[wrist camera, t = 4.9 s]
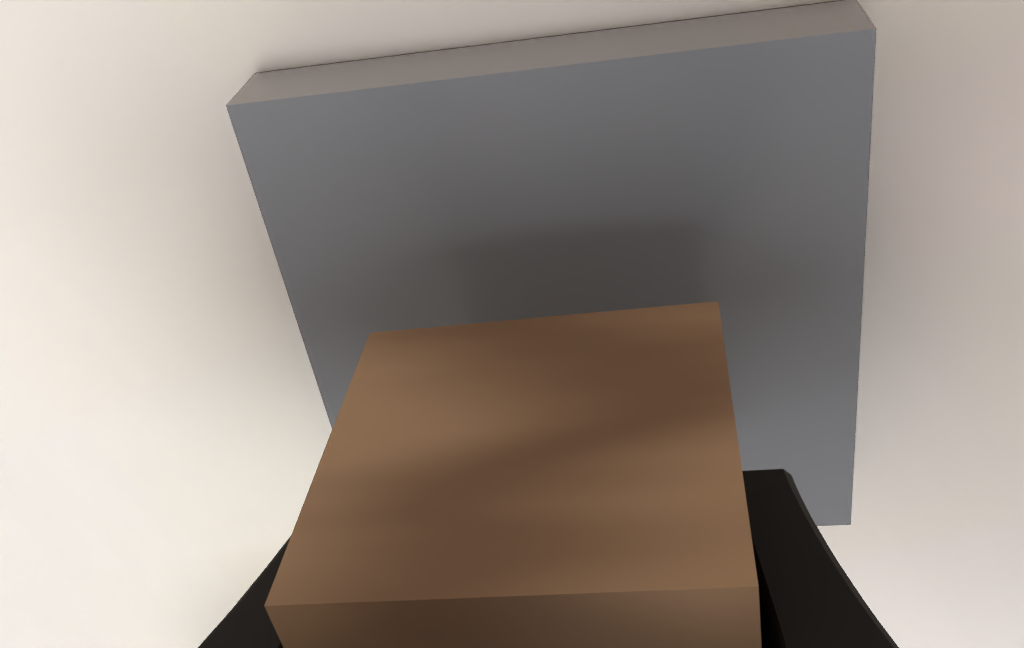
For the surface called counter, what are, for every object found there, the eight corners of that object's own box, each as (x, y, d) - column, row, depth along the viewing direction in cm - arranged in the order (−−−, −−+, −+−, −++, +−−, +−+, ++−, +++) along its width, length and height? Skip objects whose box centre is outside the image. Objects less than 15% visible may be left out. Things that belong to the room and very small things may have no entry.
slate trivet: (855, -2, 15) (876, 28, 14) (836, 473, 21) (850, 524, 19) (254, 73, 17) (225, 105, 16) (384, 494, 22) (369, 543, 21)
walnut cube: (718, 301, 13) (759, 587, 9) (735, 555, 16) (772, 863, 12) (369, 332, 14) (263, 605, 10) (441, 568, 17) (381, 860, 13)
